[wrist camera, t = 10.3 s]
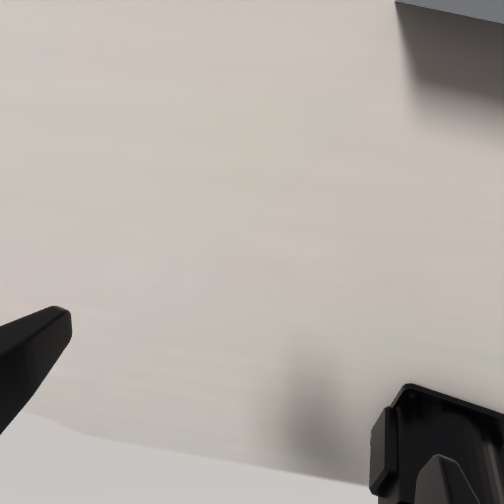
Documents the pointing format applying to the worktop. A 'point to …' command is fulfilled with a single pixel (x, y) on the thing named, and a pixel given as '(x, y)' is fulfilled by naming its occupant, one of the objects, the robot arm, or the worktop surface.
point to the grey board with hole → (466, 7)
